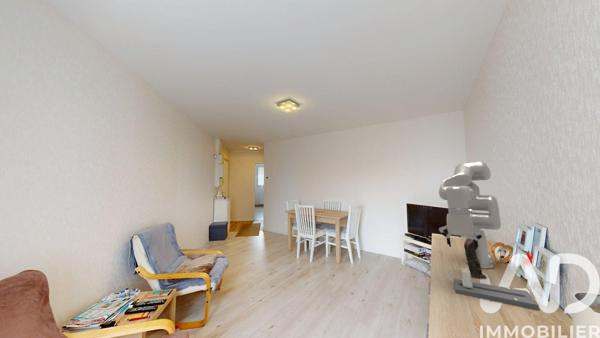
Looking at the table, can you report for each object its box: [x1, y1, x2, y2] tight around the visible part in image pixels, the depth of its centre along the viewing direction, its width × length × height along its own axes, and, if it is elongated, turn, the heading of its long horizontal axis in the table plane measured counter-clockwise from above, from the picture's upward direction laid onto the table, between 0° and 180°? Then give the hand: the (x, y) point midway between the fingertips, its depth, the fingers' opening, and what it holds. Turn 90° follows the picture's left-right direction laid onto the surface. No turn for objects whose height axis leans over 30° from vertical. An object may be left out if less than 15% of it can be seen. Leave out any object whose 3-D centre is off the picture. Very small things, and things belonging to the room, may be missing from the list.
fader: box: [460, 267, 473, 289], centre depth 95 cm, size 4×7×7 cm, turn 145°
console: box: [453, 277, 540, 311], centre depth 90 cm, size 26×12×2 cm, turn 55°
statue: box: [463, 238, 488, 280], centre depth 108 cm, size 7×7×20 cm
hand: (462, 247), depth 96 cm, fingers open, 9 cm apart
